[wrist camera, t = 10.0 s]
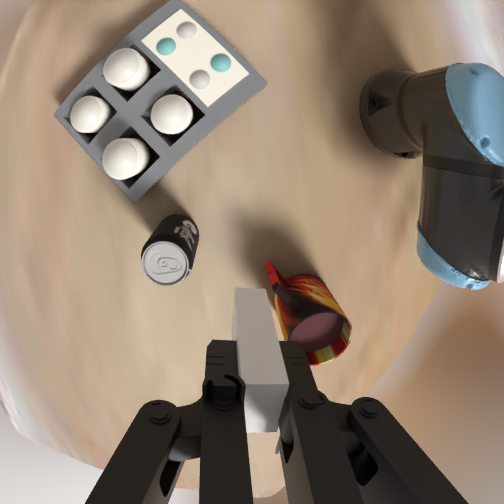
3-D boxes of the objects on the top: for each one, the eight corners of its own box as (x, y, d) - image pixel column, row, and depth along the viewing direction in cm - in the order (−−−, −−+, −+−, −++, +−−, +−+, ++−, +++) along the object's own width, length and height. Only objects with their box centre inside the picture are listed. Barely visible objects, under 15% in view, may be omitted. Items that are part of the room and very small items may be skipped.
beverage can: (159, 210, 44) (138, 234, 33) (202, 216, 45) (194, 242, 34) (156, 251, 46) (137, 285, 35) (197, 256, 47) (189, 293, 36)
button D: (101, 92, 36) (87, 87, 31) (122, 114, 38) (109, 111, 33) (79, 118, 37) (63, 116, 32) (98, 139, 39) (84, 140, 34)
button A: (178, 92, 38) (172, 86, 33) (202, 117, 39) (199, 113, 34) (151, 117, 38) (142, 114, 34) (175, 141, 40) (168, 142, 35)
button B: (133, 130, 37) (121, 129, 32) (157, 156, 38) (148, 158, 33) (108, 157, 38) (93, 160, 33) (132, 182, 39) (120, 188, 34)
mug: (265, 256, 48) (278, 292, 37) (337, 283, 51) (364, 320, 40) (242, 306, 51) (247, 350, 40) (311, 327, 54) (330, 370, 43)
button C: (136, 50, 32) (124, 40, 28) (158, 72, 34) (149, 63, 29) (109, 76, 33) (94, 69, 28) (130, 98, 35) (118, 93, 30)
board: (180, 8, 33) (175, -6, 28) (263, 88, 39) (268, 82, 34) (67, 115, 37) (51, 114, 32) (142, 197, 43) (133, 204, 38)
